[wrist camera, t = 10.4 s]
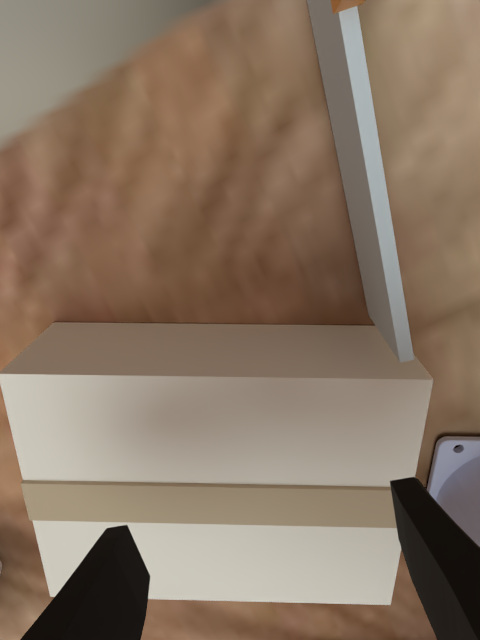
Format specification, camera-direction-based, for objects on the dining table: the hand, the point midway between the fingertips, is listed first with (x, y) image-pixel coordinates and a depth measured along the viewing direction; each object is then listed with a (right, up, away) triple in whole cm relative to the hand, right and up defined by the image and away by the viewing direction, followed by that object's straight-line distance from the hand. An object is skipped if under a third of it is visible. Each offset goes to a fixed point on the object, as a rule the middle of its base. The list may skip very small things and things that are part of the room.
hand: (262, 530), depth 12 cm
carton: (-1, 0, +11) cm, 11 cm away
